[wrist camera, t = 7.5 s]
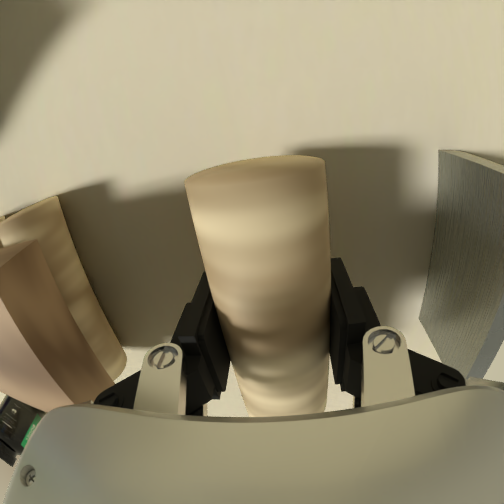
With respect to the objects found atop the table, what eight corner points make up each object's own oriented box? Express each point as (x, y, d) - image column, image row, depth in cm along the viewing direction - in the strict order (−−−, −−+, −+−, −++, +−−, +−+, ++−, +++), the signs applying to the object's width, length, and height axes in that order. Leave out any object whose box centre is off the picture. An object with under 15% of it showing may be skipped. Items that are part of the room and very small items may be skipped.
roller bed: (-36, 233, 15) (-64, 254, 11) (71, 190, 13) (21, 218, 9) (13, 333, 19) (-8, 359, 16) (134, 346, 17) (113, 391, 14)
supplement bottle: (48, 409, 27) (18, 471, 16) (44, 417, 30) (18, 471, 19) (12, 379, 25) (-23, 438, 14) (12, 391, 28) (-18, 443, 17)
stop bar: (438, 149, 10) (526, 184, 5) (461, 150, 10) (548, 185, 5) (418, 318, 15) (456, 393, 10) (438, 314, 15) (478, 385, 9)
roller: (199, 167, 10) (166, 196, 6) (311, 151, 9) (342, 172, 6) (247, 374, 15) (245, 436, 11) (320, 366, 14) (331, 428, 11)
